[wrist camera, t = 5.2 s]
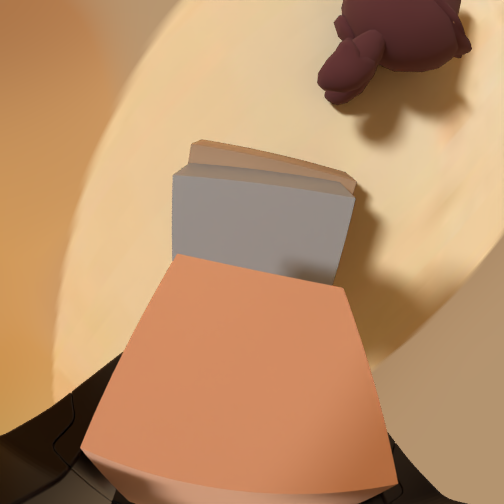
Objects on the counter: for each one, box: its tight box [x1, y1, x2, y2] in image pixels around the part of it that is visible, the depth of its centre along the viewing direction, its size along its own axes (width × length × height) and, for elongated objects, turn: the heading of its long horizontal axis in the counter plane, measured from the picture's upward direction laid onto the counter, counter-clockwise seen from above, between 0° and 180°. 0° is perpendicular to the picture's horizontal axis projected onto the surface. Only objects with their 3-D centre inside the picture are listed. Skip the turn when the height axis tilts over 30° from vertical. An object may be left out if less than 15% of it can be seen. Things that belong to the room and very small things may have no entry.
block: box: [80, 254, 398, 504], centre depth 7 cm, size 5×5×6 cm
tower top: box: [172, 163, 356, 286], centre depth 15 cm, size 8×8×3 cm
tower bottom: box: [188, 140, 357, 195], centre depth 18 cm, size 9×9×3 cm
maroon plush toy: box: [317, 0, 472, 105], centre depth 9 cm, size 7×7×15 cm
